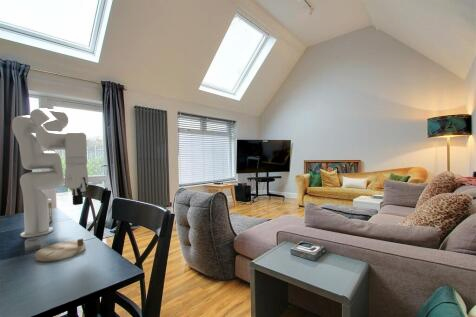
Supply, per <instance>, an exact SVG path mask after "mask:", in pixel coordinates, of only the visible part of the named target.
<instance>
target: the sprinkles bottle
mask: <svg viewBox="0 0 476 317" xmlns="http://www.w3.org/2000/svg"><path fill="white" fill-rule="evenodd" d="M52 203H53V200H52V199H51V198H48V207H49V217H50V222H53V207H52V206H53V205H52Z"/></svg>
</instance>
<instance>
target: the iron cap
mask: <svg viewBox="0 0 476 317" xmlns="http://www.w3.org/2000/svg"><path fill="white" fill-rule="evenodd" d="M41 244H42V243H41V237H40V236H39V237H38V236H35V237H28V238H27V239H25V240H24V252H25V253H27V252H28V253H33V252H37V251H39V250H40V249H42V247H41V246H42V245H41Z"/></svg>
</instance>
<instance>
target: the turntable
mask: <svg viewBox="0 0 476 317" xmlns="http://www.w3.org/2000/svg"><path fill="white" fill-rule="evenodd" d="M85 248H86V243H85V242H84V238H79V239H77V240H68V241H62V242H56V243H54V244H51V245H48V246H45V247H41V249H40V250H37V251H35V254H34V255H35V256H34V257H35V260H36V261H38V262H54V261H59V260H63V259H67V258H70V257H73V256H76V255H78V254H80V253H81V252H83V251H84V250H85Z"/></svg>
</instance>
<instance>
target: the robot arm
mask: <svg viewBox="0 0 476 317" xmlns="http://www.w3.org/2000/svg"><path fill="white" fill-rule="evenodd" d="M68 123H69V117H68V115H67V114H66V113H65V112H64V111H61V110H56V109H48V108H35V109H33V110H31V112H30V113H29V115H18V116H15V117H14V118H13V119H12V123H11V128H12V132H13V134H14V136H15V139H16V140H17V142H18V145H19V154H20V161H21V165H22V167H23V169H25V170H31V172H27V173H24V174H23V175H21V176H20V178H19V185H20V187H21V191H22V201H23V202H22V203H23V221H24V222H23V223H24V231H23V232H21V233H20V237H21V238H32V237H38V236H39V237H40V236H43V235H46V234H50V233H51V232H53V231H54V228H53V227H52V226H50V223H49V207H48V199H49V198H48V195H47V194H46V193H44V192H43V191H44V190H52V189H58V188H60V187H63V185H64V187H65V188H66V189H69V191H71V195H72V206H79V205H83V204H84V192H86V191H87V189H86V188H88V186H89V173H88V167H87V165H88V152H87V151H88V149H87V148H88V147H87V145H88V144H87V134H85V133H84V132H79V131H68V132H62V131H63V130H64V129H65V128H66V127H67V125H68ZM34 134H35V135H34ZM42 147H43V148H44V149H46V151H45V150H43V148H42ZM48 150H49V151H48ZM56 150H57V151H59V150H60V151H62V150H64V156H65V157H64V158H65V159H64V160H65V162H64V163H65V170H63V164H62V158H61V155H60V154H59V153H58V152H57V151H56ZM32 170H33V172H32ZM34 170H43V171H34ZM44 170H47V171H44ZM63 171H64V172H63Z"/></svg>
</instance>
